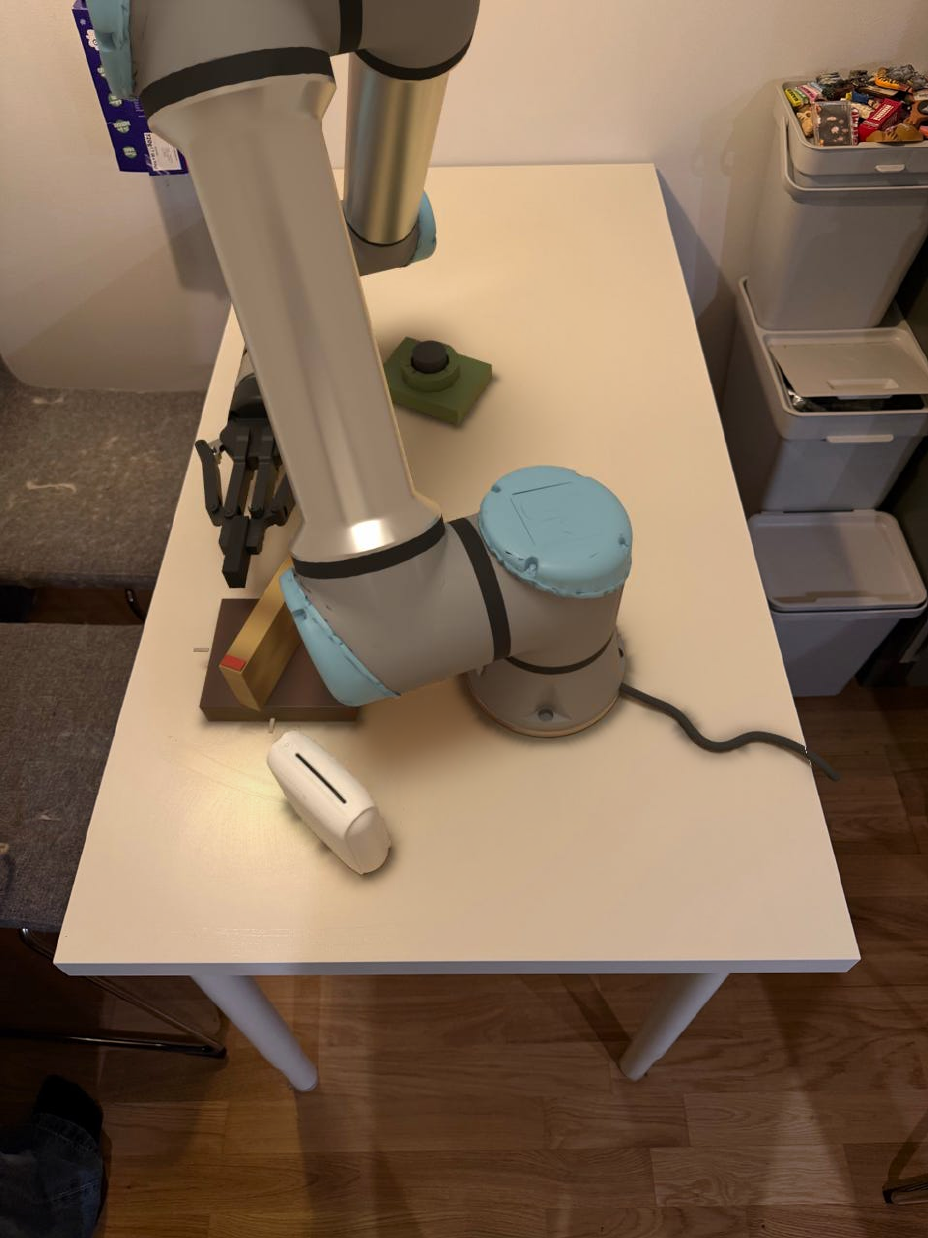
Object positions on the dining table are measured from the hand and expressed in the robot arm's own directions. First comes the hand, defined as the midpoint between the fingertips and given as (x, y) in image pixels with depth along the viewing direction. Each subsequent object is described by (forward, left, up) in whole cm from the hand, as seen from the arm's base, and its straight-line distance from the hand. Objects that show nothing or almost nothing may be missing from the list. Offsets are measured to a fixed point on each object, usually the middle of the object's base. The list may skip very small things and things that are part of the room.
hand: (233, 579), depth 77 cm
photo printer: (-22, +6, -9) cm, 24 cm away
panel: (-6, 0, -9) cm, 10 cm away
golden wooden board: (-6, 0, -6) cm, 8 cm away
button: (+14, -36, -5) cm, 39 cm away
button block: (+14, -36, -9) cm, 40 cm away
